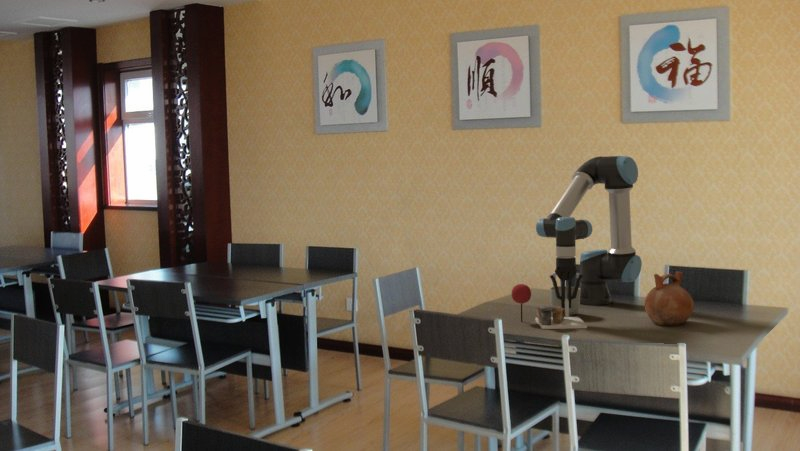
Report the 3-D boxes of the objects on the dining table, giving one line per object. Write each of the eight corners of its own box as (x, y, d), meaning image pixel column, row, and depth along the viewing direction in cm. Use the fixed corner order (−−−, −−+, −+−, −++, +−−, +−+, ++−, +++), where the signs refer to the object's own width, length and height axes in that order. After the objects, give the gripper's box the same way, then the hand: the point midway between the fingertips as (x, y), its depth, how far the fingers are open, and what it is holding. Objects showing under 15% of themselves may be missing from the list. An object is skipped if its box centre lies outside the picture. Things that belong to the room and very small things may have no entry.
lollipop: (532, 320, 327) (532, 283, 325) (529, 324, 320) (529, 286, 318) (513, 319, 329) (513, 282, 328) (510, 323, 322) (509, 285, 321)
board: (578, 319, 326) (578, 316, 326) (587, 328, 310) (587, 325, 310) (535, 320, 326) (535, 317, 326) (542, 329, 310) (542, 325, 310)
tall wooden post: (545, 320, 325) (545, 304, 325) (552, 328, 311) (552, 311, 310) (536, 320, 325) (536, 304, 325) (542, 328, 311) (542, 311, 310)
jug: (668, 330, 304) (669, 276, 302) (633, 321, 320) (634, 271, 318) (704, 324, 313) (704, 272, 311) (668, 316, 329) (668, 267, 327)
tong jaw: (564, 317, 323) (564, 301, 323) (558, 325, 308) (558, 309, 308) (544, 316, 325) (544, 301, 325) (538, 324, 311) (538, 308, 310)
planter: (586, 314, 337) (586, 288, 336) (570, 318, 328) (570, 292, 327) (560, 310, 345) (560, 285, 344) (544, 315, 336) (544, 289, 335)
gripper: (580, 255, 322) (580, 314, 324) (547, 256, 322) (547, 315, 324) (584, 257, 314) (584, 317, 317) (550, 258, 314) (551, 318, 317)
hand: (566, 316), depth 320 cm, fingers closed
